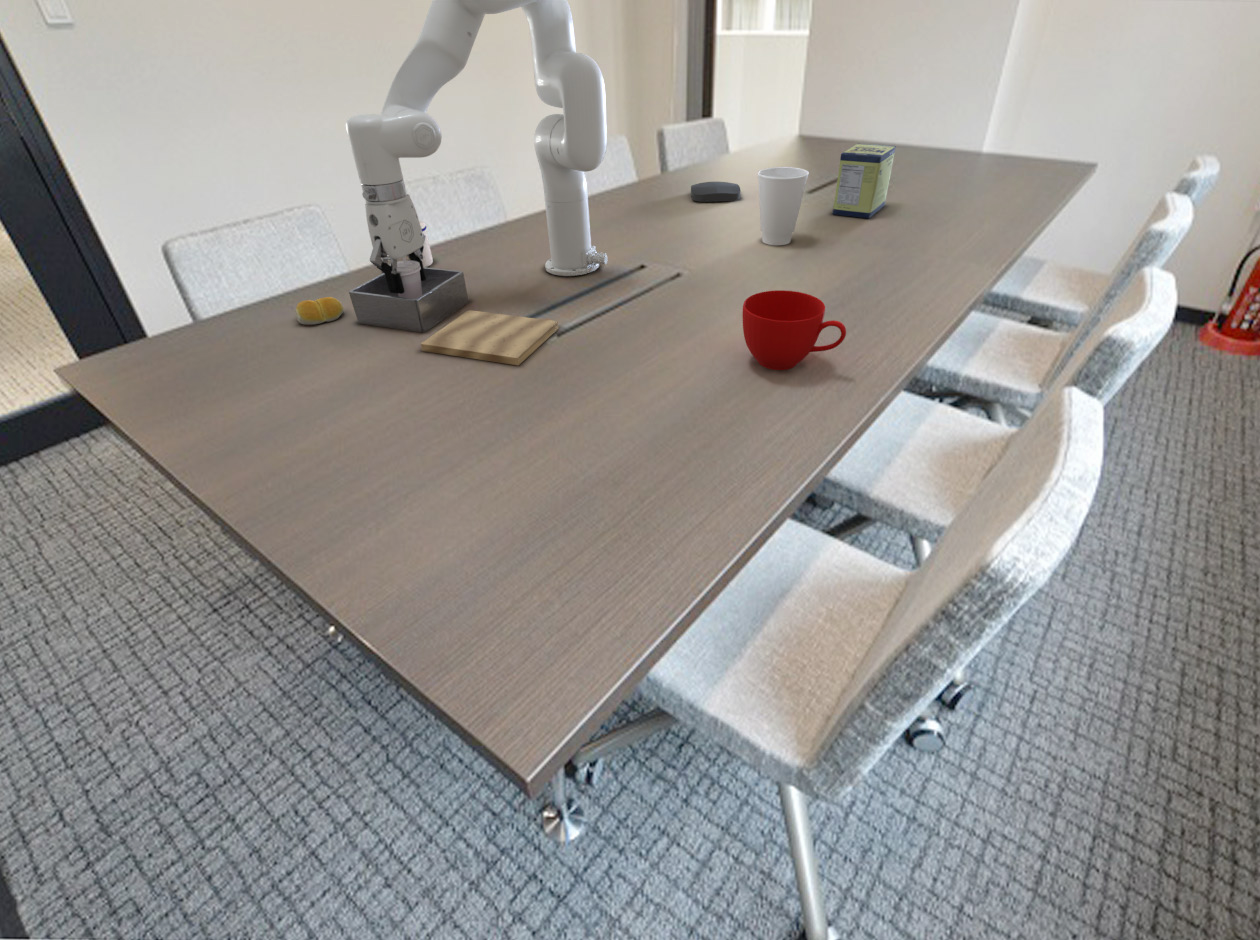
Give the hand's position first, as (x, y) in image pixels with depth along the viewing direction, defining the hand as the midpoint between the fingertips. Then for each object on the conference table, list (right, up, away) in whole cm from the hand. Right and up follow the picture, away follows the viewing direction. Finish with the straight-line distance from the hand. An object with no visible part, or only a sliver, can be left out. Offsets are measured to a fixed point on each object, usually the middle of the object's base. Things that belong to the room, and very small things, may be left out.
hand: (408, 285), depth 128 cm
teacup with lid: (-9, +13, +28) cm, 32 cm away
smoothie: (0, -5, +3) cm, 6 cm away
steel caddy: (0, -5, +3) cm, 6 cm away
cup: (+81, +20, +32) cm, 90 cm away
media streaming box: (+71, +47, +69) cm, 109 cm away
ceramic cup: (+71, -19, -21) cm, 77 cm away
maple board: (+19, -13, -9) cm, 24 cm away
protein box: (+109, +36, +51) cm, 126 cm away
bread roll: (-19, -6, +3) cm, 20 cm away
